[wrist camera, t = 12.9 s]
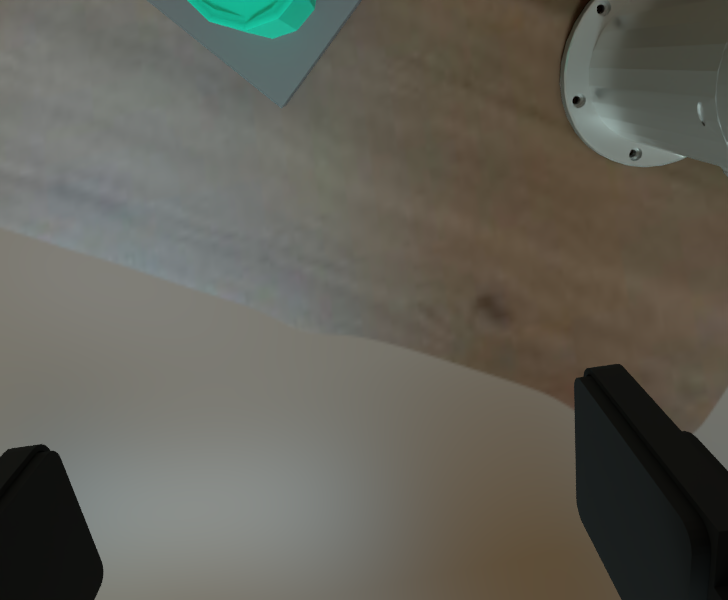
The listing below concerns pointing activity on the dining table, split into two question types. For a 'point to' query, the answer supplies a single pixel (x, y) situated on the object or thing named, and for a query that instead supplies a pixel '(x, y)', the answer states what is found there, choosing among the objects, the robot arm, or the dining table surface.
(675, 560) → the robot arm
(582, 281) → the dining table surface
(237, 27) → the candle
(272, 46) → the plinth
